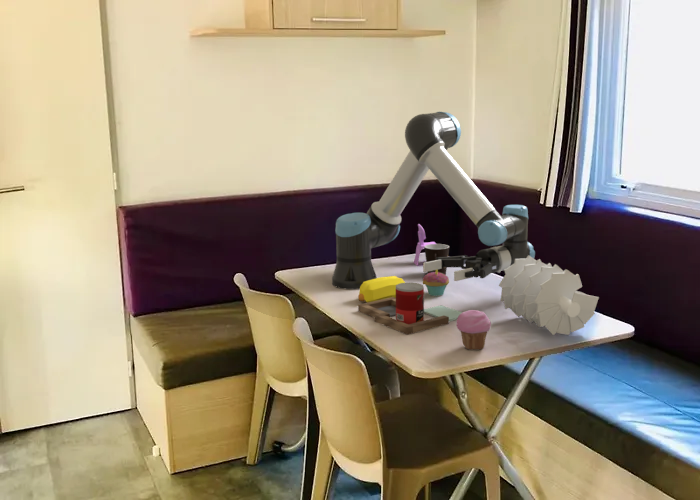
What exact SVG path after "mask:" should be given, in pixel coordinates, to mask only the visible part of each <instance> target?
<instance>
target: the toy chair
mask: <svg viewBox="0 0 700 500" xmlns="http://www.w3.org/2000/svg"><path fill="white" fill-rule="evenodd" d="M417 227H418V231H417V236H418V242H417V245H416V249H415V255H414V256H415V257H414V259H413V263H414V265H416V266H417V267H419V262H420V254H421V251H422V250H425V247H424V246H426V245H429V244H437V243H436V242H435V241H430V242H424V240H426V239H427V237H426V232H425V229H424V228H423V226H422V225H421V224H420V223H418V224H417Z"/></svg>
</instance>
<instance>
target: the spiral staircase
mask: <svg viewBox="0 0 700 500" xmlns="http://www.w3.org/2000/svg"><path fill="white" fill-rule="evenodd" d="M503 272H504V274H505V275H504V276H503V277H502V280H500V283H499V284H498V287H500V288H501V295H500V302H503V304H504V309H505V310H507V309H509V310H511V311H512V312H513V314H515V315H516V317H518V318H519V317H523V318H524V319H525V320H526V321H528V322H529V323H530V324H532V323H533V322H534V323H535V325H536V326H537V327H538V328H540V327H541V328H542V327H545V328H546V329H547V330H548V331H549V333H550V334H552V336H554V335H555V334H562V335H566V336H567V335H568V336H569V335H570V334H571V333H573V332H576V331H579V330H581V329H584V328H585V325H586V324H587V323H588V322H589V321H590V320H591V318H592V317H593V316H594V315H595V314H596V313H595V310H596V307H597V304H598V300H599V299H600V297H599V296H594V295H589V294H586V293H584V292H582V291H578V290H579V289H581V288H582V287H583V285H582V284H583V283H582V281H581V278H580V275H579V274H578V273H576V274H574V273H573V272H571V271H570V270H568V269H566V268H565V269H564V270H563V269H562V268H561V267H560V266H559V265H558V264H556V263H554V265H553V266H552V264H551V263H550V262H548V263H544V262H542V260H541V259H540V258H539V259H537V260H536V259H535V257H534V258H532V257H531V256H529V255H528V256H527V258H526V259H515V262H514V264H512V265H511V266H509V267H508V268H506V269H505V270H503Z"/></svg>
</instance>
